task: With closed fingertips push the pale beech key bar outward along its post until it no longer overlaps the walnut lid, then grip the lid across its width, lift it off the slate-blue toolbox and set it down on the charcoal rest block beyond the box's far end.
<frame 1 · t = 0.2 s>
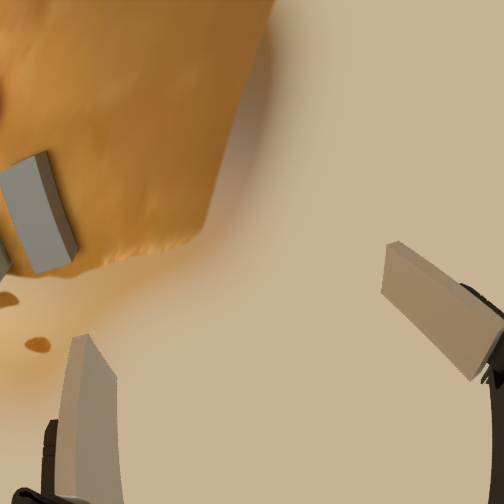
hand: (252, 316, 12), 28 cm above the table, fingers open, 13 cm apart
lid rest: (42, 208, 31), on the table
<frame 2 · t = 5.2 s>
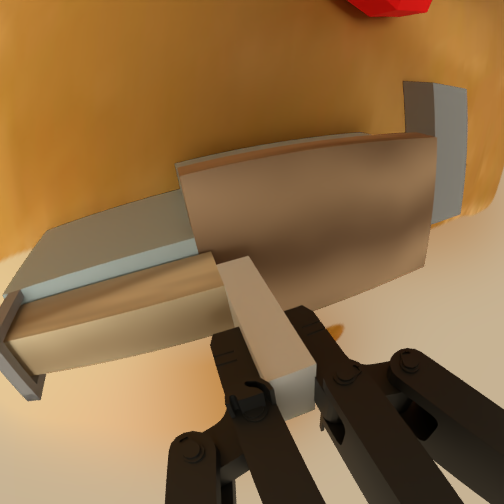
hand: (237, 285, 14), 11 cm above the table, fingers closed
lid: (325, 220, 18), point 7 cm above the table, touching toolbox
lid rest: (424, 146, 26), on the table
toolbox: (282, 189, 24), on the table
key bar: (96, 322, 12), point 11 cm above the table, slide at 1.4 cm, touching gripper
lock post: (116, 232, 21), on the table
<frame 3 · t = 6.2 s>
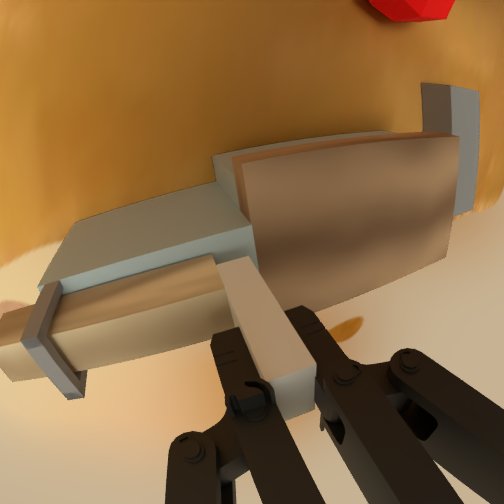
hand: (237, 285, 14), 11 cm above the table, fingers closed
lid: (362, 211, 18), point 7 cm above the table, touching toolbox
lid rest: (439, 145, 27), on the table
toolbox: (313, 184, 24), on the table
key bar: (96, 325, 12), point 11 cm above the table, slide at 4.2 cm, touching gripper
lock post: (149, 224, 22), on the table
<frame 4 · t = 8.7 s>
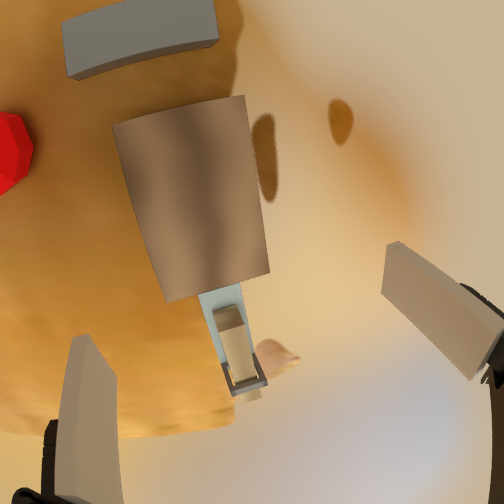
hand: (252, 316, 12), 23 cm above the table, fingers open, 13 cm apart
ball: (9, 149, 22), on the table
lid: (195, 199, 25), point 7 cm above the table, touching toolbox
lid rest: (139, 35, 22), on the table
key bar: (239, 360, 30), point 11 cm above the table, slide at 4.2 cm
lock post: (213, 285, 37), on the table
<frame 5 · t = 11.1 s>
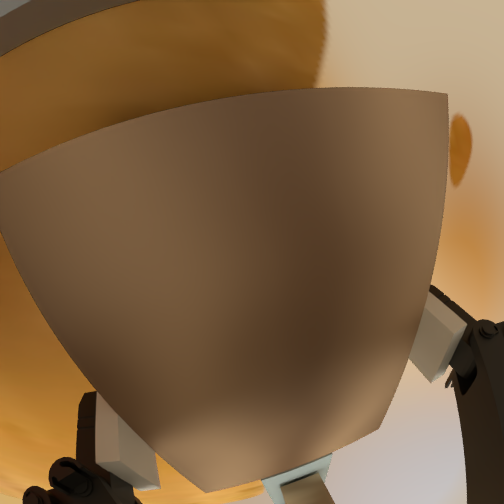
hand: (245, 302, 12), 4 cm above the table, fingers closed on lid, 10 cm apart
lid: (269, 350, 10), point 7 cm above the table, touching gripper, toolbox
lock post: (258, 397, 23), on the table
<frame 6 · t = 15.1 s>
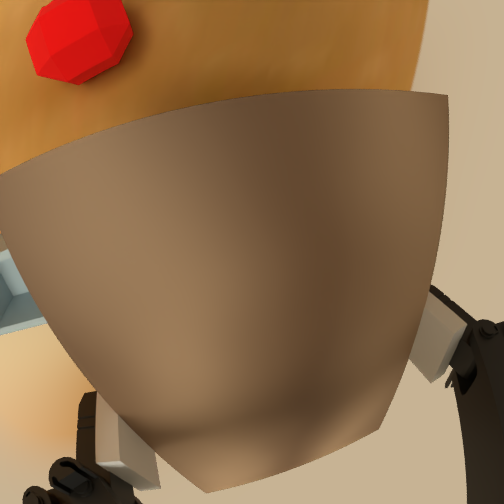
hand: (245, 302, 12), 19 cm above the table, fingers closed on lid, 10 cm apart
ball: (90, 43, 19), on the table
lid: (269, 351, 10), point 22 cm above the table, touching gripper
toolbox: (49, 252, 26), on the table
when the fingers open (2 cm above the table, at t = 18.9 s): lid stays where it is, resting on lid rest.
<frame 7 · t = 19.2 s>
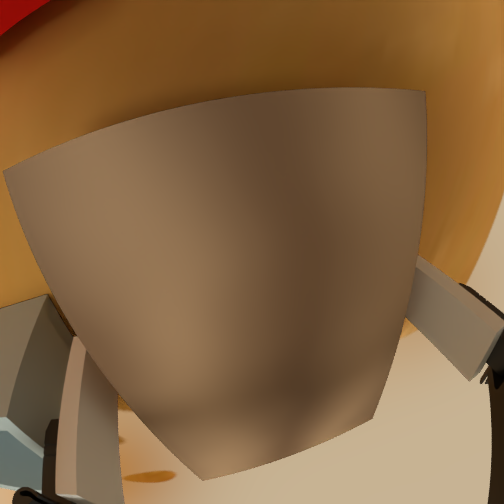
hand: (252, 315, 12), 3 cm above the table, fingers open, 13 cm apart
lid: (262, 335, 11), point 4 cm above the table, touching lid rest
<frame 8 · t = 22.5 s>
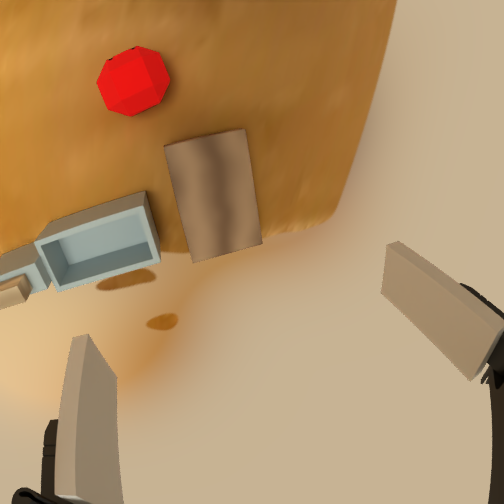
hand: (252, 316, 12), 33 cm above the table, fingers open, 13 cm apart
ball: (136, 84, 32), on the table
lid: (214, 194, 39), point 4 cm above the table, touching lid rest
toolbox: (102, 231, 40), on the table
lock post: (31, 255, 37), on the table
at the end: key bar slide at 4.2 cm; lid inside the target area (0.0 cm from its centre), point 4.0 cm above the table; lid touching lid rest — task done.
